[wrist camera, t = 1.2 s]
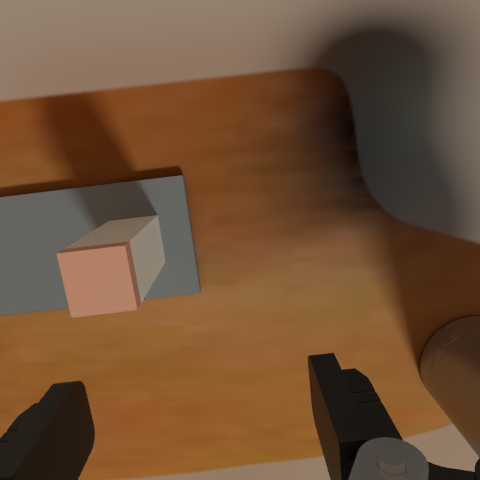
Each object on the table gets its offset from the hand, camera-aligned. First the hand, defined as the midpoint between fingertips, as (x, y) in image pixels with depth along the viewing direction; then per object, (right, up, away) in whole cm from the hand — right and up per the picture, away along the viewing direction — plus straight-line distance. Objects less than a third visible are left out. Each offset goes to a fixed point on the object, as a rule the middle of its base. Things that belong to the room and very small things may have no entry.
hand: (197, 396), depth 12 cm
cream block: (-7, +4, +22) cm, 23 cm away
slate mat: (-12, +4, +22) cm, 25 cm away
